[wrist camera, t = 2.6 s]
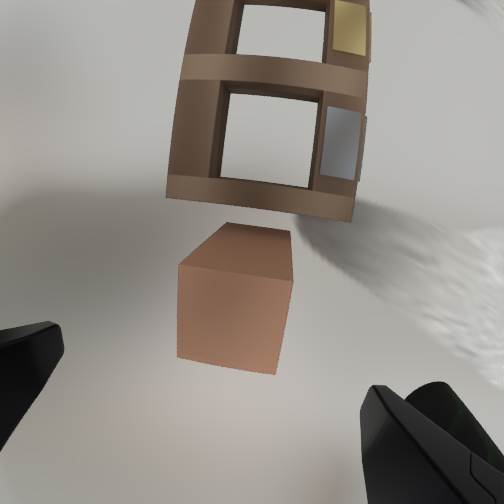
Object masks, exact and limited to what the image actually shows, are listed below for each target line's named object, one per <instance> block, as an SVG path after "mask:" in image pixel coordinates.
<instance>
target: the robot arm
mask: <svg viewBox="0 0 504 504" xmlns="http://www.w3.org/2000/svg"><path fill="white" fill-rule="evenodd" d="M63 353H64V343H63V338H62V332H61V328H60V326H59V325H58V324H56V323H53V322H51V321H46V322H41V323H35V324H31V325H25V326H20V327H16V328H10V329H4V330H0V451H1V450H2V448H3V447H4V445H5V444H6V442H7V440H8V439H9V437H10V436H11V434H12V433H13V431H14V430H15V428H16V427H17V425H18V424H19V422H20V421H21V419H22V418H23V416H24V415H25V413H26V412H27V411H28V409H29V408H30V406H31V405H32V403H33V402H34V401H35V399H36V398H37V396H38V395H39V394H40V392H41V391H42V389H43V388H44V386H45V384H46V382H47V380H48V379H49V377H50V376H51V374H52V372H53V370H54V369H55V367H56V365H57V364H58V362H59V360H60V359H61V357H62V356H63ZM360 427H361V451H362V464H363V472H364V478H365V485H366V492H367V499H368V504H504V474H503V473H501V472H500V471H498V470H497V469H495V468H493V467H492V466H491V465H489V464H488V463H486V462H485V461H484V460H482V459H481V458H479V457H478V456H477V455H475V454H474V453H473V452H471V453H470V450H469V449H467V448H466V447H465V446H463V445H462V444H461V443H459V442H458V441H457V440H455V439H454V438H453V437H452V436H450V435H449V434H448V433H446V432H445V431H444V430H442V429H441V428H440V427H438V426H437V425H436V424H435V423H433V422H432V421H431V420H429V419H428V418H427V417H425V416H424V415H423V414H422V413H420V412H419V411H418V410H416V409H415V408H414V407H413V406H411V405H410V404H409V403H407V402H406V401H405V400H403V399H402V398H401V397H400V396H398V395H397V394H396V393H395V392H393V391H392V390H391V389H390V388H388V387H387V386H385V385H372V386H371V387H370V388H369V390H368V392H367V395H366V397H365V400H364V402H363V404H362V406H361V409H360Z"/></svg>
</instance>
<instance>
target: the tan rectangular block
mask: <svg viewBox="0 0 504 504" xmlns="http://www.w3.org/2000/svg"><path fill="white" fill-rule="evenodd" d="M292 286H293V268H292V251H291V236H290V231H287V230H280V229H273V228H266V227H258V226H251V225H243V224H236V223H228V222H227V223H225V224H224V225H223V226H222V227H221V228H219V229H218V230H217V231H216V232H215V233H214V234H213V235H211V236H210V237H209V238H208V239H207V240H206V241H204V242H203V243H202V244H201V245H200V246H199V247H198V248H197V249H196V250H194V251H193V252H192V253H191V254H190V255H189V256H187V257H186V258H185V259H184V260H183V261H182V262H181V263H180V264H179V270H178V303H177V304H178V305H177V357H179V358H182V359H187V360H192V361H197V362H201V363H206V364H211V365H217V366H222V367H227V368H233V369H240V370H246V371H252V372H258V373H265V374H272V375H275V374H276V370H277V365H278V360H279V355H280V351H281V345H282V340H283V335H284V330H285V324H286V319H287V314H288V309H289V303H290V298H291V292H292Z"/></svg>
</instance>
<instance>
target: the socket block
mask: <svg viewBox="0 0 504 504" xmlns="http://www.w3.org/2000/svg"><path fill="white" fill-rule="evenodd" d="M244 5H269V6H282V7H292V8H301V9H308V10H316V11H322V12H325V28H324V42H323V55H322V63H318V62H312V61H305V60H297V59H289V58H280V57H269V56H256V55H239V54H236V52H237V46H238V39H239V33H240V27H241V21H242V14H243V9H244ZM370 62H371V12H370V8H369V0H196V2H195V6H194V10H193V14H192V19H191V23H190V28H189V33H188V38H187V42H186V48H185V53H184V58H183V64H182V69H181V75H180V81H179V88H178V94H177V100H176V107H175V114H174V122H173V130H172V139H171V147H170V156H169V167H168V177H167V188H166V198H172V199H181V200H190V201H199V202H208V203H217V204H225V205H234V206H242V207H250V208H257V209H265V210H272V211H280V212H286V213H293V214H300V215H307V216H313V217H320V218H326V219H333V220H339V221H345V222H351V221H352V215H353V209H354V203H355V196H356V189H357V182H358V181H360V175H361V167H362V159H363V151H364V142H365V133H366V123H367V117H366V116H365V113H366V101H367V86H368V68H369V63H370ZM230 93H235V94H248V95H260V96H271V97H280V98H288V99H296V100H303V101H310V102H316V103H318V110H317V118H316V127H315V136H314V144H313V153H312V161H311V169H310V176H309V184H308V188H304V187H298V186H291V185H284V184H277V183H269V182H262V181H252V180H245V179H236V178H227V177H220V174H221V165H222V156H223V148H224V139H225V132H226V124H227V116H228V108H229V100H230Z"/></svg>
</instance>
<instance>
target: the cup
mask: <svg viewBox="0 0 504 504" xmlns="http://www.w3.org/2000/svg"><path fill="white" fill-rule="evenodd" d="M405 401H406V402H407V403H409V404H410V405H411V406H413V407H414V408H415V409H416V410H418V411H419V412H420V413H422V414H423V415H424V416H425V417H427V418H428V419H429V420H431V421H432V422H433V423H435V424H436V425H437V426H438V427H440V428H441V429H442V430H444V431H445V432H446V433H448V434H449V435H450V436H452V437H453V438H454V439H455V440H457V441H458V442H459V443H461V444H462V445H463V446H465V447H466V448H467V449H469V450H470V453H471V452H473V453H474V454H475V455H477V456H478V457H479V458H481V459H482V460H484V461H485V462H486V463H488V464H489V465H491V466H492V467H493V468H495V469H497V470H498V471H500V472H501V473H503V474H504V456H503V454H502V453H501V451H500V450H499V449H498V447H497V446H496V445H495V443H494V442H493V441H492V439H491V438H490V437H489V435H488V434H487V433H486V431H485V430H484V429H483V428H482V426H481V425H480V423H479V422H478V421H477V420H476V418H475V417H474V416H473V414H472V413H471V412H470V411H469V409H468V408H467V407H466V406H465V404H464V403H463V402H462V401H461V400H460V398H459V397H458V396H457V394H456V393H455V392H454V391H453V390H452V388H451V387H450V386H449V385H448V384H447V383H445V382H439V381H438V382H431V383H428V384H425V385H423V386H421V387H419V388H418V389H416V390H415V391H413V392H412V393H411V394H410V395H408V396H407V397H406V399H405Z"/></svg>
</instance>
